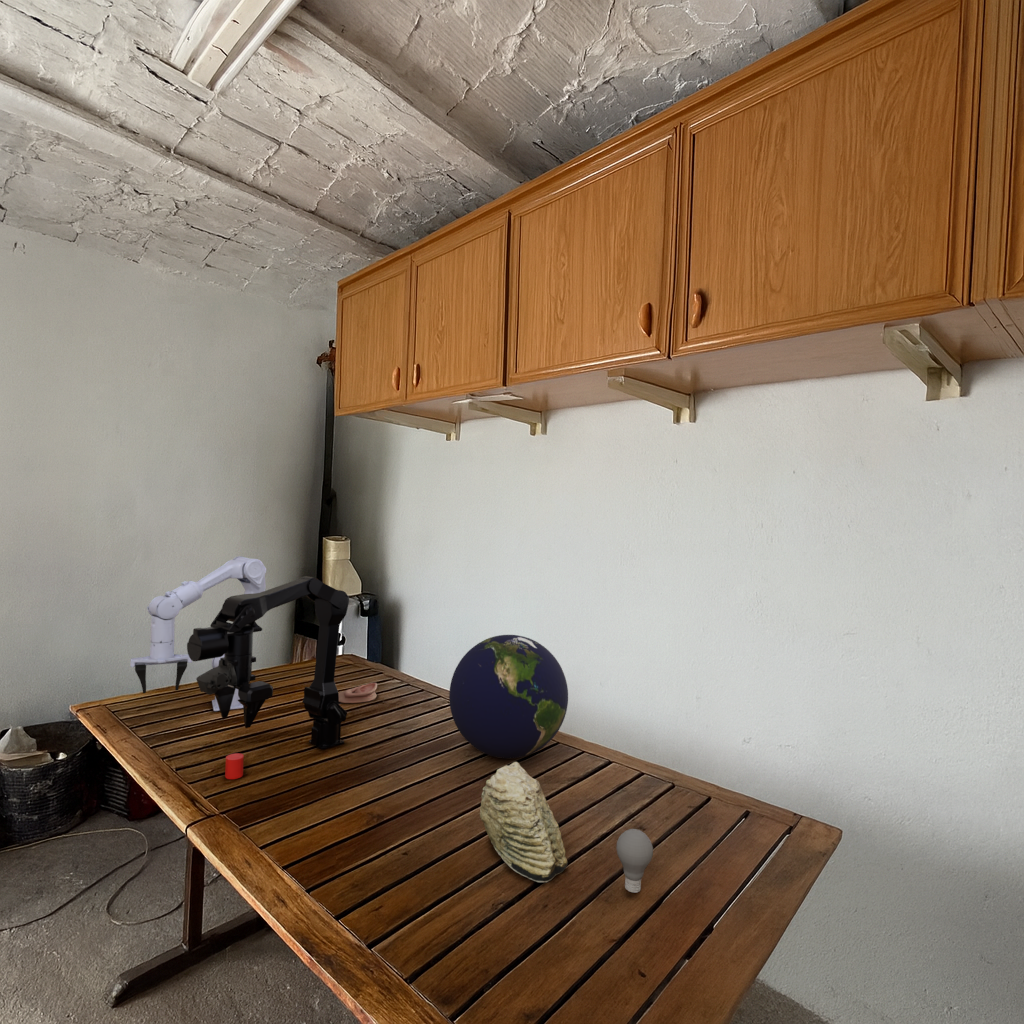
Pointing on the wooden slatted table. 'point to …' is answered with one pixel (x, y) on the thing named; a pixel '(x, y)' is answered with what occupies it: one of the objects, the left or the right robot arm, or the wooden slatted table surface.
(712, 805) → the wooden slatted table surface
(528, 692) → the globe
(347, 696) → the anatomical model
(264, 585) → the left robot arm
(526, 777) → the fossil
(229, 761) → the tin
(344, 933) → the wooden slatted table surface
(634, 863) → the light bulb
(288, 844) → the wooden slatted table surface
